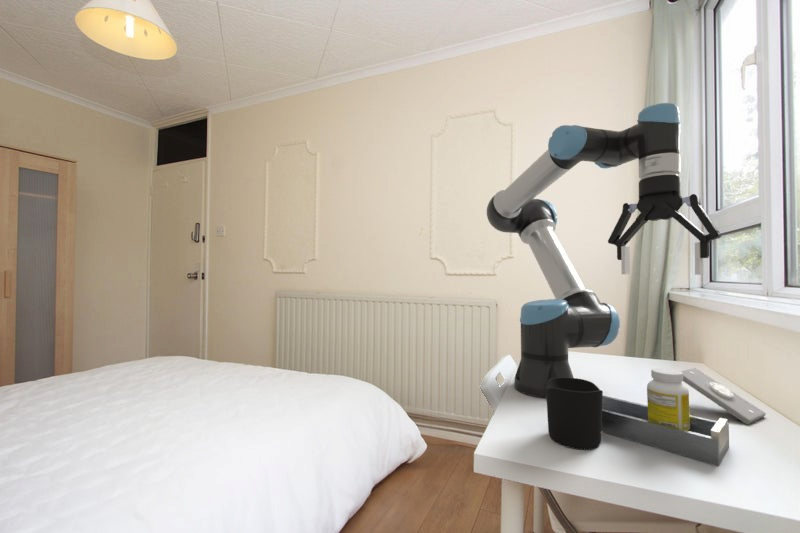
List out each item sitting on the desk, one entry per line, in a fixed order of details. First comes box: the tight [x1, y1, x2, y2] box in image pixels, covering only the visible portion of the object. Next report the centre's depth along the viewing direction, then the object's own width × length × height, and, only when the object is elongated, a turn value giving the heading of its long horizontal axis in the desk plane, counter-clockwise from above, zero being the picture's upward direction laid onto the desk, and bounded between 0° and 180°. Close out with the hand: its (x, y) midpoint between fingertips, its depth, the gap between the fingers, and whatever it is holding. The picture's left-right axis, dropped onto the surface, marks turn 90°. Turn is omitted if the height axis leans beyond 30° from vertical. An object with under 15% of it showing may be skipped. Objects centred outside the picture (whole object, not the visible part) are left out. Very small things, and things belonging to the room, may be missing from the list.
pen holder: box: [546, 377, 604, 450], centre depth 68 cm, size 9×9×10 cm
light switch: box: [680, 367, 767, 425], centre depth 83 cm, size 8×6×14 cm
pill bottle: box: [646, 367, 691, 431], centre depth 67 cm, size 6×6×11 cm
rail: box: [601, 395, 730, 467], centre depth 69 cm, size 21×10×5 cm, turn 41°
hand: (660, 274), depth 81 cm, fingers open, 13 cm apart
